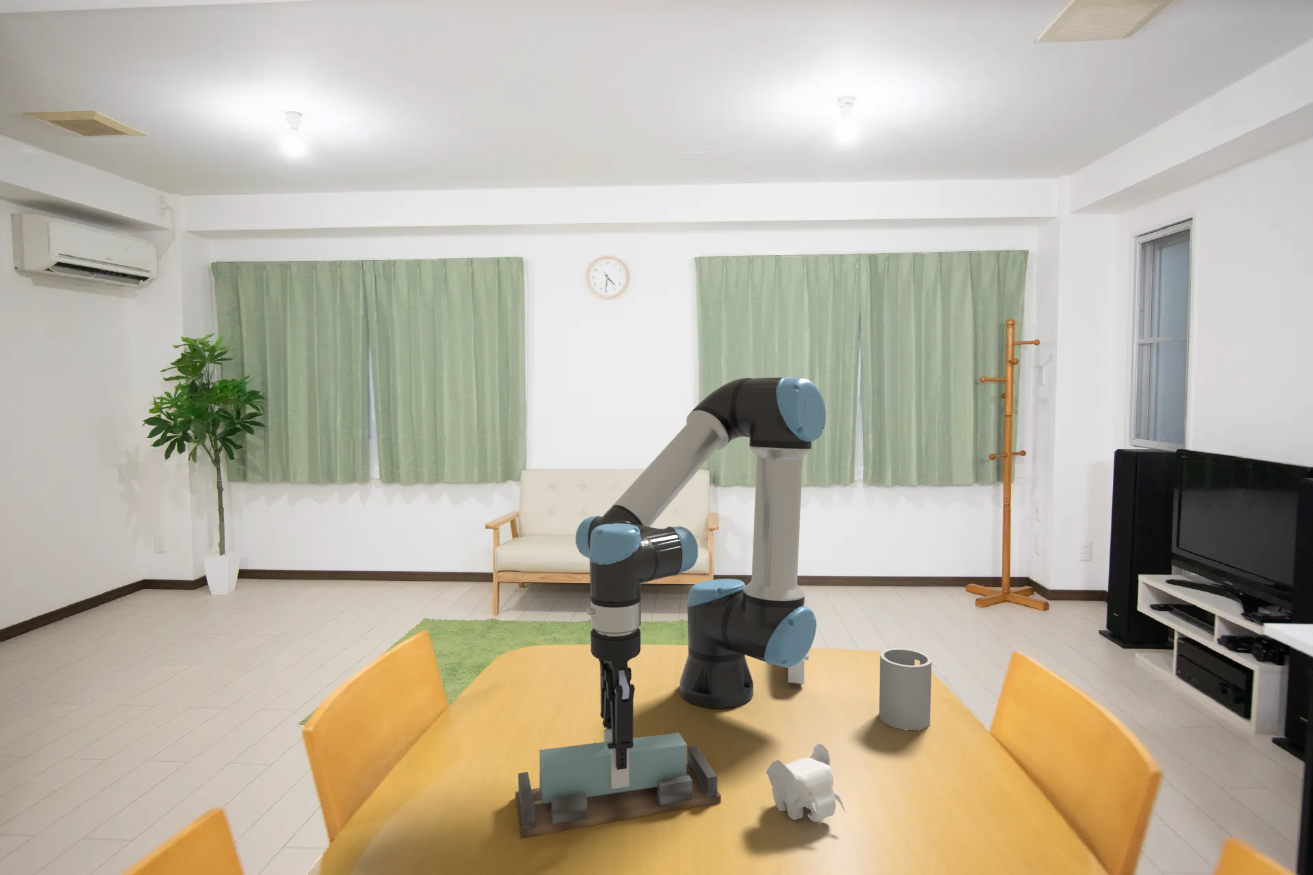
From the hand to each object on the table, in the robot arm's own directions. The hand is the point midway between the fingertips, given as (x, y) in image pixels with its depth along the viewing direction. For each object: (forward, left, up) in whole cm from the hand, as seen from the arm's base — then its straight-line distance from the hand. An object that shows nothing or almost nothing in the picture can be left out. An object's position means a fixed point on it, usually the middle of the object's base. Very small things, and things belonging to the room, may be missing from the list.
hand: (616, 777), depth 107 cm
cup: (-58, -10, -4) cm, 59 cm away
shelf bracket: (-50, -39, -4) cm, 64 cm away
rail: (0, 0, -1) cm, 1 cm away
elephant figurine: (-26, +11, -4) cm, 29 cm away
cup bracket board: (0, 0, -4) cm, 4 cm away
